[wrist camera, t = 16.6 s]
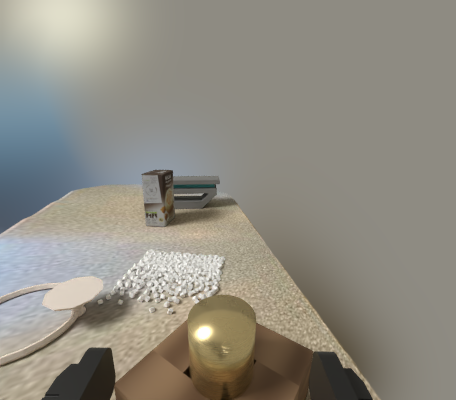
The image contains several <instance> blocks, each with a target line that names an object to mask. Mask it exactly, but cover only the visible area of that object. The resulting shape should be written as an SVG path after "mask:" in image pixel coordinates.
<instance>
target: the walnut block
mask: <svg viewBox="0 0 456 400" xmlns="http://www.w3.org/2000/svg"><path fill="white" fill-rule="evenodd" d="M312 357H313V351H312V350H310V349H308V348H306V347H304V346H302V345H300V344H298V343H296V342H294V341H292V340H290V339H288V338H286V337H284V336H282V335H280V334H278V333H276V332H274V331H272V330H270V329H268V328H266V327H264V326H262V325H260V324H258V323H256V331H255V351H254V371H253V378H252V381H251V384H250V386H249V387H248V388H247V390H246V391H245V392H244V393H243V394H242V395H240V396H239V397H237V398H235V399H233V400H305V399H306V396H307V393H308V386H309V375H310V369H311V364H312ZM114 389H115V395H116V400H210V399H208V398H205V397H204V396H202V395H201V394H200V393H199V392H198V391H197V390H196V389H195V387H194V385H193V383H192V381H191V377H190V362H189V340H188V319H187V320H186V321H185V322H184V323H183V324H182V325H181V326H179V327H178V328H177V329H176V330H175V331H174V332H173V333H171V334H170V335H169V336H168V337H167V338H166V339H165V340H164V341H162V342H161V343H160V344H159V345H158V346H157V347H156V348H154V349H153V350H152V351H151V352H150V353H149V354H148V355H147V356H145V357H144V358H143V359H142V360H141V361H140V362H139V363H138V364H136V365H135V366H134V367H133V368H132V369H131V370H130V371H128V372H127V373H126V374H125V375H124V376H123V377H122V378H121V379H119V380H118V381H117V382H116V383H115V385H114Z"/></svg>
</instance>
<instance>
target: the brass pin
mask: <svg viewBox="0 0 456 400" xmlns="http://www.w3.org/2000/svg"><path fill="white" fill-rule="evenodd" d="M255 331H256V316H255V313H254V311H253V309H252V307H251V306H250V305H249V304H248V303H247V302H245V301H244V300H242V299H240V298H237V297H234V296H230V295H215V296H210V297H207V298H205V299H203V300H201V301H199V302H198V303H197V304H195V305H194V306H193V308H192V309H191V311H190V313H189V315H188V340H189V362H190V377H191V381H192V383H193V385H194V387H195V389H196V390H197V391H198V392H199V393H200V394H201V395H202V396H204V397H205V398H208V399H210V400H233V399H235V398H237V397H239V396H240V395H242V394H243V393H244V392H245V391H246V390H247V388H248V387H249V386H250V384H251V381H252V378H253V371H254V351H255Z"/></svg>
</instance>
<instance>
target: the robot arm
mask: <svg viewBox="0 0 456 400" xmlns="http://www.w3.org/2000/svg"><path fill="white" fill-rule="evenodd" d="M114 385H115V369H114V362H113V356H112V350H111V348H89V349H88V350H87V351H86V352H85V354H84V356H83V357H82V359H81V361H80V362H79V364H71V365H70V366H68V367H67V368H66V369H65V370H64V371H63V372H62V373H61V374H60V375H59V376H58V377H57V378H56V379H55V380H54V382H53V383H52V385H51V386H50V388H49V389H48V391H47V392H46V394H45V397H44V398H42V400H110V398H111V396H112V393H113V390H114ZM309 390H310V395H311V399H312V400H373V399H372V397H371V395H370V393H369V391H368V390H367V388H366V386H365V384H364V382H363V381H362V380H361V379H360V378H359V377H358V376H357V375H356V373H355V372H354V371H353V370H352V369H351V368H343V367H342V365H341V363H340V361H339V359H338V357H337V355H336V354H335V353H334V352H314V353H313V358H312V364H311V369H310V375H309Z"/></svg>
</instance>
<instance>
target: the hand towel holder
mask: <svg viewBox="0 0 456 400" xmlns="http://www.w3.org/2000/svg"><path fill="white" fill-rule="evenodd" d="M44 289H52V290H50V291H49V292H48V293H46V294H45V296H44V300H43V303H42V305H44V306H46V307H48V308H50V309H52V310H54V311H61V310H70V309H72V312H71V315H72V316H71V317H70V318H69V319H68V320H67V321H66V322H65V323H64V324H62V325H61V326H60V327H59V328H58V329H56V330H55V331H53V332H52V333H50V334H49V335H47V336H46V337H44V338H43V339H41V340H39V341H37V342H35V343H33V344H31V345H29V346H27V347H25V348H23V349H21V350H18V351H15V352H12V353H10V354H7V355H4V356H1V357H0V366H1V365H4V364H7V363H9V362H12V361H15V360H17V359H20V358H22V357H25V356H27V355H29V354H31V353H33V352H34V351H36V350H38V349H40V348H42V347H44V346H46V345H47V344H48V343H50V342H51V341H53V340H54V339H56V338H57V337H59V336H60V335H61V334H63V333H64V332H65V331H66V330H67V329H68V328H69V327H70V326H71V325H72V324H73V323H74V322H75V321H76V319H77V318H78V317H80V316H82V315H83V314H84V313H85V311H86V308H85V307H84V304H86V303H88V302H91V301H92V300H93V299H94V298H95V297H96V296H97V295H98V294H99V293H100V291H101V290H102V289H103V280H101V279H98V278H96V277H93V276H89V277H78V278H74V279H71V280H69V281H66V282H63V283H47V284H41V285H35V286H31V287H28V288H24V289H20V290H18V291H15V292H12V293H9V294H7V295H4V296H2V297H0V303H3V302H5V301H7V300H9V299H12V298H15V297H17V296H20V295H23V294H26V293H30V292H34V291H38V290H44Z"/></svg>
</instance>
